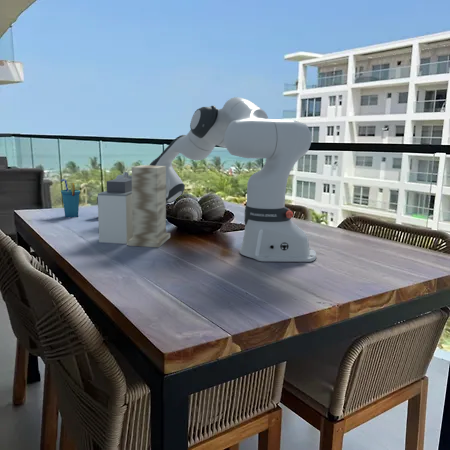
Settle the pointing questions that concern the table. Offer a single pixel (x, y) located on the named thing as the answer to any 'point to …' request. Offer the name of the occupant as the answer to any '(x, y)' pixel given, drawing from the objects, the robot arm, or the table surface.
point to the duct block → (115, 217)
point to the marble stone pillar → (148, 206)
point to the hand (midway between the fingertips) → (137, 174)
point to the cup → (70, 200)
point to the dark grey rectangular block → (119, 185)
